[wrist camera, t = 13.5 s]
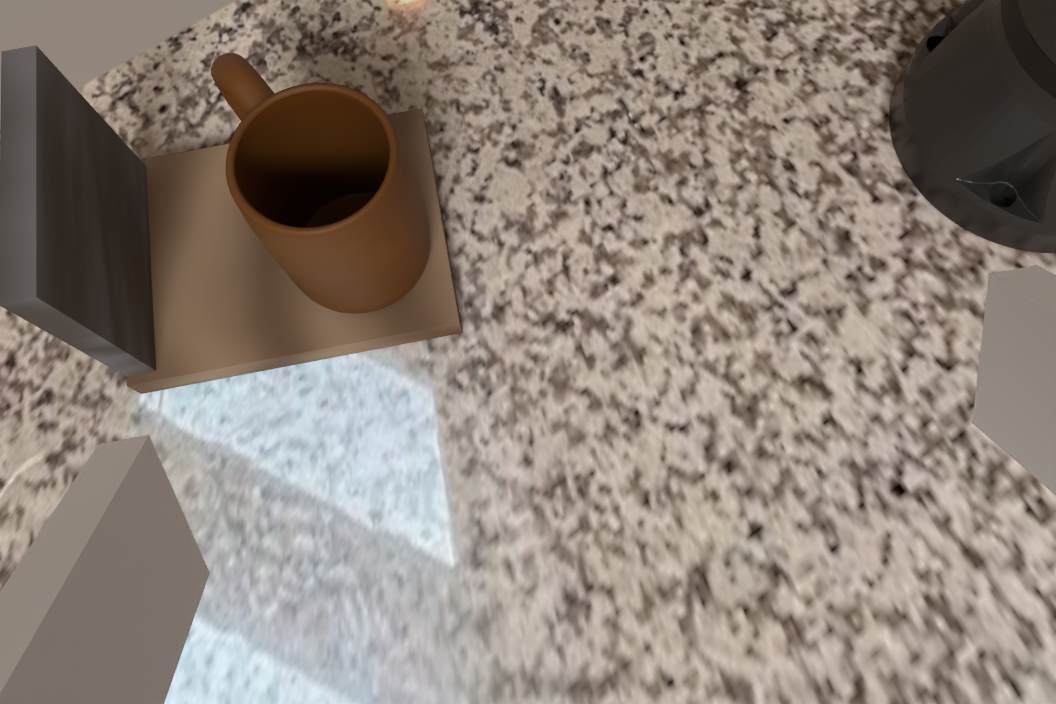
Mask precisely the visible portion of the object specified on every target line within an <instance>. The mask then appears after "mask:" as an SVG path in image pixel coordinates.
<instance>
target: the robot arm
mask: <svg viewBox="0 0 1056 704" xmlns="http://www.w3.org/2000/svg"><path fill="white" fill-rule="evenodd" d="M890 122H891V131H892V137H893V141H894V145H895V148H896V151H897V154H898V156H899V159H900V161H901V163H902V165H903V167H904V169H905V171H906V172H907V174H908V176H909V177H910V179H911V180H912V182H913V183H914V185H915V186H916V187H917V189H918V190H919V191H920V192H921V193H922V195H923V196H924V197H925V198H926V199H927V200H928V201H929V202H930V203H931V204H932V205H933V206H934V207H935V208H937V209H938V210H939V211H940V212H941V213H942V214H944V215H945V216H946V217H948V218H949V219H950V220H952V221H953V222H955V223H956V224H958V225H959V226H961V227H963V228H964V229H966V230H968V231H970V232H972V233H973V234H975V235H978V236H980V237H982V238H984V239H987V240H989V241H992V242H994V243H997V244H1000V245H1004V246H1007V247H1011V248H1015V249H1019V250H1025V251H1031V252H1040V253H1056V0H968V1H967V2H965V3H964V4H963V5H961V6H960V7H958V8H957V9H956V10H954V11H953V12H951V13H950V14H949V15H947V16H946V17H945V18H944V19H942V20H941V21H940V22H939V23H938V24H937V25H936V26H934V27H933V29H932V30H931V31H930V32H929V33H928V34H927V35H926V36H925V37H924V39H923V40H922V41H921V43H920V44H919V45H918V47H917V49H916V50H915V52H914V53H913V55H912V56H911V58H910V59H909V61H908V63H907V64H906V66H905V67H904V69H903V70H902V72H901V74H900V76H899V78H898V80H897V83H896V85H895V89H894V92H893V96H892V101H891V109H890ZM972 423H973V424H974V425H975V426H976V427H978V428H979V429H980V430H981V431H982V432H983V433H985V434H986V435H987V436H988V437H989V438H990V439H991V440H993V441H994V442H995V443H996V444H997V445H998V446H1000V447H1001V448H1002V449H1003V450H1004V451H1005V452H1006V453H1008V454H1009V455H1010V456H1011V457H1012V458H1013V459H1015V460H1016V461H1017V462H1018V463H1019V464H1020V465H1021V466H1023V467H1024V468H1025V469H1026V470H1027V471H1028V472H1030V473H1031V474H1032V475H1033V476H1034V477H1035V478H1036V479H1038V480H1039V481H1040V482H1041V483H1042V484H1043V485H1045V486H1046V487H1047V488H1048V489H1049V490H1050V491H1051V492H1053V493H1054V494H1055V495H1056V275H1054V274H1052V273H1051V272H1049V271H1047V270H1045V269H1043V268H1041V267H1039V266H1037V265H1035V266H1030V267H1025V268H1020V269H1014V270H1009V271H1004V272H999V273H994V274H989V280H988V289H987V297H986V306H985V315H984V324H983V333H982V342H981V351H980V360H979V369H978V378H977V387H976V396H975V405H974V413H973V422H972ZM208 576H209V570H208V568H207V566H206V564H205V561H204V559H203V557H202V555H201V552H200V550H199V548H198V545H197V543H196V541H195V539H194V536H193V534H192V532H191V530H190V527H189V525H188V523H187V520H186V518H185V516H184V514H183V511H182V509H181V507H180V505H179V502H178V500H177V498H176V495H175V493H174V491H173V489H172V486H171V484H170V482H169V479H168V477H167V475H166V473H165V470H164V468H163V466H162V464H161V461H160V459H159V457H158V454H157V452H156V450H155V448H154V445H153V443H152V441H151V439H150V436H149V435H146V436H141V437H135V438H130V439H125V440H120V441H115V442H109V443H104V444H99V445H98V446H97V447H96V449H95V450H94V452H93V453H92V455H91V456H90V458H89V459H88V461H87V462H86V464H85V465H84V467H83V468H82V470H81V471H80V473H79V474H78V476H77V477H76V479H75V480H74V482H73V483H72V485H71V486H70V488H69V489H68V491H67V492H66V494H65V495H64V497H63V498H62V500H61V501H60V503H59V504H58V506H57V507H56V509H55V510H54V512H53V513H52V515H51V516H50V518H49V519H48V521H47V522H46V524H45V525H44V527H43V528H42V530H41V531H40V533H39V534H38V536H37V537H36V539H35V540H34V542H33V543H32V545H31V546H30V548H29V549H28V551H27V552H26V554H25V555H24V557H23V558H22V560H21V561H20V563H19V564H18V566H17V567H16V569H15V570H14V572H13V573H12V575H11V576H10V578H9V579H8V581H7V582H6V584H5V585H4V587H3V588H2V590H1V591H0V704H164V702H165V699H166V696H167V693H168V690H169V687H170V685H171V682H172V679H173V676H174V673H175V670H176V667H177V665H178V662H179V659H180V656H181V653H182V650H183V647H184V645H185V642H186V639H187V636H188V633H189V630H190V627H191V625H192V622H193V619H194V616H195V613H196V610H197V607H198V605H199V602H200V599H201V596H202V593H203V590H204V587H205V585H206V582H207V579H208Z"/></svg>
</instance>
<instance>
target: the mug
mask: <svg viewBox="0 0 1056 704" xmlns="http://www.w3.org/2000/svg"><path fill="white" fill-rule="evenodd" d="M211 75H212V77H213V79H214V81H215V83H216V85H217V87H218V89H219V90H220V92H221V93H222V95H223V96H224V98H225V99H226V101H227V102H228V104H229V105H230V106H231V108H232V109H233V110H234V112H235V113H236V115H237V116H238V117H239V119H240V120H241V123H240V124H239V126H238V127H237V129H236V130H235V132H234V134H233V136H232V139H231V141H230V144H229V147H228V151H227V157H226V179H227V184H228V187H229V190H230V193H231V195H232V197H233V199H234V201H235V203H236V205H237V206H238V208H239V209H240V211H241V213H242V215H243V217H244V218H245V220H246V222H247V223H248V225H249V226H250V227H251V229H252V230H253V232H254V233H255V234H256V236H257V237H258V238H259V240H260V241H261V242H262V243H263V245H264V246H265V247H266V248H267V250H268V251H269V252H270V254H271V255H272V256H273V257H274V259H275V260H276V261H277V262H278V264H279V265H280V266H281V267H282V268H283V270H284V271H285V272H286V273H287V274H288V276H289V277H290V278H291V280H292V281H293V282H294V283H295V285H296V286H297V287H298V288H299V289H300V290H301V291H302V292H303V293H304V294H305V295H306V296H307V297H309V298H310V299H311V300H312V301H314V302H316V303H318V304H319V305H321V306H323V307H325V308H328V309H330V310H333V311H337V312H341V313H349V314H360V313H368V312H372V311H376V310H379V309H382V308H385V307H387V306H389V305H391V304H393V303H395V302H396V301H398V300H399V299H401V298H402V297H403V296H405V295H406V294H407V293H408V292H409V291H410V290H411V289H412V288H413V287H414V286H415V284H416V283H417V282H418V280H419V279H420V277H421V276H422V274H423V272H424V270H425V267H426V264H427V261H428V257H429V252H430V231H429V226H428V222H427V218H426V215H425V212H424V209H423V205H422V202H421V198H420V195H419V191H418V188H417V185H416V182H415V179H414V175H413V172H412V169H411V166H410V163H409V160H408V157H407V154H406V152H405V149H404V147H403V144H402V142H401V140H400V138H399V136H398V134H397V132H396V130H395V127H394V125H393V123H392V122H391V120H390V118H389V117H388V115H387V114H386V113H385V111H384V110H383V109H382V108H381V107H380V106H379V105H378V104H377V103H376V102H375V101H373V100H372V99H370V98H369V97H368V96H366V95H364V94H362V93H360V92H358V91H357V90H354V89H352V88H349V87H346V86H342V85H337V84H330V83H309V84H302V85H298V86H293V87H290V88H287V89H284V90H282V91H280V92H277V93H275V94H274V92H273V91H272V90H271V88H270V87H269V86H268V85H267V83H266V82H265V81H264V80H263V78H262V77H261V76H260V75H259V74H258V72H257V71H256V70H255V69H254V68H253V67H252V66H251V65H250V64H249V63H248V62H247V61H246V60H245V59H244V58H243V57H242V56H240V55H238V54H235V53H226V54H224V55H221V56H219V57H218V58H217V59H216V60H215V61H214V62H213V64H212V67H211Z"/></svg>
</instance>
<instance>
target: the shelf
mask: <svg viewBox="0 0 1056 704" xmlns="http://www.w3.org/2000/svg"><path fill="white" fill-rule="evenodd" d="M388 117H389V118H390V120H391V122H392V123H393V125H394V127H395V130H396V132H397V134H398V136H399V138H400V140H401V142H402V144H403V147H404V149H405V152H406V154H407V157H408V160H409V163H410V166H411V169H412V172H413V175H414V179H415V182H416V185H417V188H418V191H419V195H420V198H421V202H422V205H423V209H424V212H425V215H426V218H427V222H428V226H429V231H430V252H429V257H428V261H427V264H426V267H425V270H424V272H423V274H422V276H421V277H420V279H419V280H418V282H417V283H416V284H415V286H414V287H413V288H412V289H411V290H410V291H409V292H408V293H407V294H406V295H405V296H403V297H402V298H401V299H399V300H398V301H396V302H395V303H393V304H391V305H389V306H387V307H385V308H382V309H379V310H376V311H372V312H368V313H360V314H349V313H341V312H337V311H333V310H330V309H328V308H325V307H323V306H321V305H319V304H318V303H316V302H314V301H312V300H311V299H310V298H309V297H307V296H306V295H305V294H304V293H303V292H302V291H301V290H300V289H299V288H298V287H297V286H296V285H295V283H294V282H293V281H292V280H291V278H290V277H289V276H288V274H287V273H286V272H285V271H284V270H283V268H282V267H281V266H280V265H279V264H278V262H277V261H276V260H275V259H274V257H273V256H272V255H271V254H270V252H269V251H268V250H267V248H266V247H265V246H264V245H263V243H262V242H261V241H260V240H259V238H258V237H257V236H256V234H255V233H254V232H253V230H252V229H251V227H250V226H249V225H248V223H247V222H246V220H245V218H244V217H243V215H242V213H241V211H240V209H239V208H238V206H237V205H236V203H235V201H234V199H233V197H232V195H231V193H230V190H229V187H228V184H227V179H226V157H227V151H228V147H229V144H225V145H219V146H214V147H208V148H203V149H197V150H192V151H186V152H181V153H175V154H170V155H164V156H159V157H153V158H148V159H142V160H140V159H139V158H138V157H137V156H136V155H135V154H134V153H133V152H132V150H131V149H130V148H129V147H128V146H127V145H126V144H125V143H124V142H123V140H122V139H121V138H120V137H119V136H118V135H117V134H116V133H115V132H114V131H113V129H112V128H111V127H110V126H109V125H108V124H107V123H106V122H105V121H104V120H103V118H102V117H101V116H100V115H99V114H98V113H97V112H96V111H95V110H94V109H93V107H92V106H91V105H90V104H89V103H88V102H87V101H86V100H85V99H84V98H83V96H82V95H81V94H80V93H79V92H78V91H77V90H76V89H75V88H74V87H73V85H72V84H71V83H70V82H69V81H68V80H67V79H66V78H65V77H64V76H63V74H62V73H61V72H60V71H59V70H58V69H57V68H56V67H55V66H54V64H53V63H52V62H51V61H50V60H49V59H48V58H47V57H46V56H45V55H44V53H43V52H42V51H41V50H40V49H39V48H38V47H37V46H31V47H25V48H19V49H14V50H9V51H2V66H1V129H0V306H2V307H3V308H5V309H7V310H9V311H11V312H12V313H14V314H16V315H18V316H19V317H21V318H23V319H25V320H27V321H28V322H30V323H32V324H34V325H35V326H37V327H39V328H41V329H43V330H44V331H46V332H48V333H50V334H52V335H53V336H55V337H57V338H59V339H60V340H62V341H64V342H66V343H68V344H69V345H71V346H73V347H75V348H77V349H78V350H80V351H82V352H84V353H85V354H87V355H89V356H91V357H93V358H94V359H96V360H98V361H100V362H101V363H103V364H105V365H107V366H109V367H110V368H112V369H114V370H116V371H118V372H119V373H121V374H123V375H125V376H126V377H127V386H128V387H130V388H132V389H134V390H135V391H137V392H139V393H141V394H143V393H148V392H153V391H158V390H164V389H169V388H174V387H179V386H185V385H190V384H195V383H200V382H206V381H211V380H216V379H221V378H227V377H232V376H237V375H242V374H248V373H253V372H258V371H264V370H269V369H274V368H279V367H285V366H290V365H295V364H300V363H306V362H311V361H316V360H321V359H327V358H332V357H337V356H342V355H348V354H353V353H358V352H363V351H369V350H374V349H379V348H384V347H390V346H395V345H400V344H405V343H411V342H416V341H421V340H426V339H432V338H437V337H442V336H448V335H453V334H458V333H463V332H462V327H461V321H460V315H459V309H458V304H457V298H456V292H455V287H454V281H453V275H452V270H451V264H450V258H449V253H448V247H447V241H446V236H445V230H444V224H443V219H442V213H441V207H440V201H439V196H438V190H437V184H436V179H435V173H434V167H433V162H432V156H431V150H430V145H429V139H428V133H427V128H426V123H425V119H424V115H423V111H422V109H417V110H412V111H406V112H401V113H395V114H390V115H388Z"/></svg>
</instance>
